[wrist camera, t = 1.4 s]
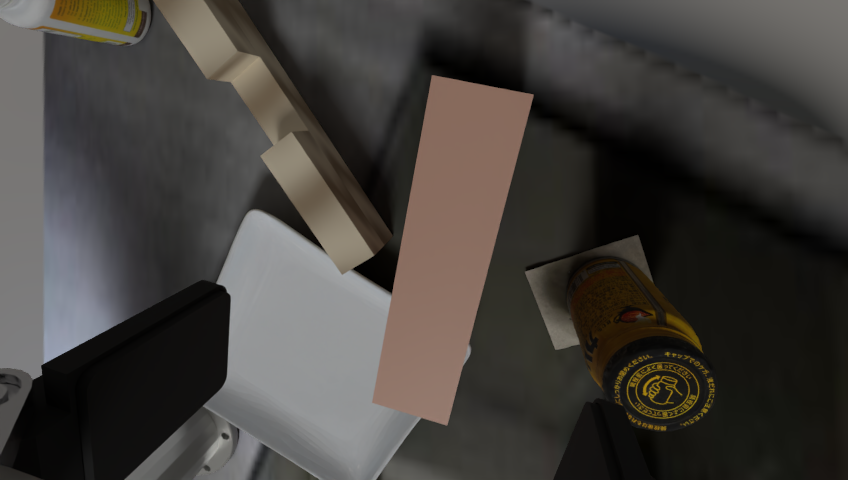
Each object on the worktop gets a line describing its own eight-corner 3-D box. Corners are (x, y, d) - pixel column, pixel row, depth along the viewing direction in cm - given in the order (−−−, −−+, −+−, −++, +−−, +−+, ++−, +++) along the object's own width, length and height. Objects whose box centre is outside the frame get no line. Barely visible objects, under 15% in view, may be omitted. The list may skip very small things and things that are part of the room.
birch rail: (393, 236, 33) (374, 255, 29) (364, 253, 34) (341, 274, 30) (198, -62, 30) (139, -95, 25) (172, -33, 31) (111, -61, 26)
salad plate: (480, 327, 35) (478, 349, 31) (367, 477, 42) (355, 507, 39) (270, 194, 35) (246, 201, 32) (194, 366, 42) (168, 387, 39)
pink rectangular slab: (470, 305, 34) (447, 425, 21) (424, 293, 34) (372, 402, 21) (521, 105, 29) (533, 94, 16) (466, 94, 29) (432, 75, 16)
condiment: (665, 320, 31) (756, 435, 20) (555, 348, 33) (580, 466, 22) (637, 233, 30) (717, 304, 18) (524, 270, 32) (534, 352, 21)
